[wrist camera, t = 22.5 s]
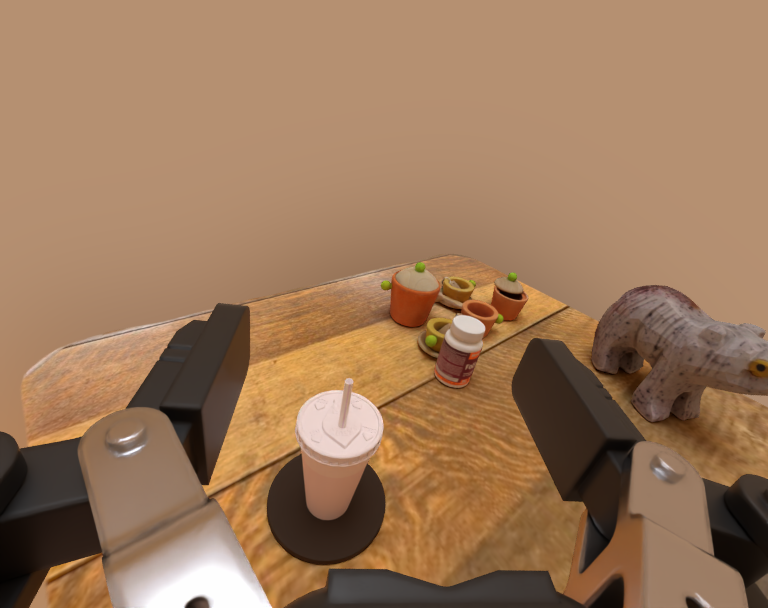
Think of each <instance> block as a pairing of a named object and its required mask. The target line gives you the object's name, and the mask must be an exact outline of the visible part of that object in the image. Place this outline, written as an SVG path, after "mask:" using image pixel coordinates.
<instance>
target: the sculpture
mask: <svg viewBox="0 0 768 608" xmlns="http://www.w3.org/2000/svg"><path fill="white" fill-rule="evenodd" d="M764 335H765V330H764V329H762V328H760V327H758V326H755V325H752V324H746V323H744V324H740V325H735V324H730V323H725V322H718V321H715V320H713V319H712V318H710V317H709V316H708V315H707V314H706V313H705V312H704V311H703V310H701V309H700V308H699V307H698V306H697V305H696V304H695V303H694V302H693V301H692V300H691V299H689V298H688V297H687V296H685V295H684V294H683V293H681V292H679V291H677V290H675V289H673V288H670V287H668V286H659V285H658V286H657V285H651V286H642V287H637V288H634V289H632V290H629V291H628V292H626V293H625V294H624V295H623V296H622V297H621V298H620V299H619V300H618V301H616V302H615V303H614V304H612V305H611V306H610V307H609V308H608V309H607V311H606V312H605V314H604V315H603V316H602V318H601V320H600V322H599V324H598V326H597V329H596V332H595V337H594V343H593V349H592V362H593V364H594V366H595V367H596V368H597V369H598V370H600V371H603V372H607V373H612V374H616V373H617V371H618V369H619V367H621V368H622V369H623V370H624V371H625V372H627V373H633V372H635V371H637V370H640V369H641V368H642V366H643V361H644V359H645V360H646V361H647V362H648V363H649V364H650V365H651V367H652V370H651V372H650V373H649V374H648V375H647V377H646V378H645V379H644V380H643V381H642V382H641V383H640V385H639V386H638V387H637V389H636V390H635V391H634V393H633V396H632V400H631V401H632V403H633V405H634V406H635V408H636V409H637V410H638V411H639V412H640V414H641V415H642V416H643V417H645V418H646V419H647V420H648V421H650V422H654V421H661V420H664V419H666V418H668V417H669V414H670V412H672V413H673V414H674V415H675V416H677V417H678V418H679V419H681V420H683V421H684V420H686V419H691V418H697V417H699V414H700V399H701V395H702V393H703V391H704V389H705V388H706V386H707V387H711V388H715V389H720V390H725V391H729V392H734V393H739V394H748V395H766V396H768V341H766V340H764V339H762V338H763V336H764Z"/></svg>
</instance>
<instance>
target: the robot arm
mask: <svg viewBox="0 0 768 608" xmlns="http://www.w3.org/2000/svg"><path fill="white" fill-rule="evenodd" d="M249 359H250V310H249V307H248V306H241V305H232V304H223V303H222V304H221V303H218V304H217V305H216V307H215V309H214V310H213V312H212V314H211V316H210V317H209V319H208V321H200V320H193V321H191V322H190V323H188V324H187V325H185V326H184V327H182V328H181V329H180V330H178V331H177V332H176V333H175V335H174V336H173V338H172V339H171V341H170V342H169V344H168V347H167V348H166V349H165V350H164V352H163V353H162V355H161V356H160V359H159V361H157V362H156V364H155V365H154V367H153V368H152V370H151V371H150V373H149V374H148V376H147V377H146V379H145V380H144V382H143V383H142V385H141V386H140V388H139V389H138V391H137V392H136V394H135V395H134V397H133V398H132V400H131V401H130V403H129V404H128V406H127V407H126V409H124V410H120V411H117V412H114V413H112V414H110V415H108V416H106V417H104V418H102V419H100V420H99V421H97V422H96V423H95V424H94V425H92V426H91V427H90V428H89V429H88V430H87V431H86V432H85V434H84V435H83V436H82V437H79V438H75V439H70V440H65V441H60V442H54V443H49V444H43V445H38V446H32V447H27V448H21V449H19V447H18V444H17V443H16V441H15V439H14V438H13V437H12V436H10V435H9V434H7V433H4V432H0V608H29V607H30V605H31V603H32V601H33V599H34V597H35V595H36V594H37V592H38V590H39V588H40V586H41V584H42V582H43V581H44V579H45V577H46V575H47V573H48V571H49V570H50V568H51V567H54V566H57V565H61V564H64V563H67V562H71V561H74V560H78V559H81V558H85V557H88V556H92V555H95V554H99V553H103V557H102V563H103V569H104V573H105V577H106V582H107V586H108V590H109V594H110V598H111V602H112V606H113V608H272V607H271V605H270V603H269V601H268V599H267V597H266V595H265V593H264V591H263V589H262V587H261V585H260V583H259V581H258V579H257V577H256V575H255V573H254V571H253V569H252V567H251V565H250V563H249V561H248V559H247V557H246V555H245V553H244V552H243V550H242V548H241V546H240V544H239V542H238V540H237V538H236V536H235V534H234V532H233V530H232V528H231V526H230V524H229V522H228V520H227V518H226V516H225V514H224V512H223V510H222V508H221V507H220V505H219V503H218V502H217V501H216V500H215V499H214V498H212V499H209V498H208V497H207V495H206V493H205V491H204V489H203V487H202V485H209V482H210V479H211V476H212V474H213V471H214V468H215V465H216V462H217V459H218V456H219V453H220V450H221V447H222V444H223V442H224V439H225V436H226V433H227V430H228V427H229V424H230V421H231V418H232V415H233V413H234V410H235V407H236V404H237V401H238V398H239V395H240V392H241V389H242V386H243V384H244V381H245V378H246V375H247V371H248V366H249ZM512 394H513V398H514V400H515V402H516V404H517V406H518V408H519V410H520V412H521V415H522V417H523V419H524V421H525V423H526V425H527V427H528V429H529V431H530V433H531V435H532V437H533V439H534V442H535V444H536V446H537V448H538V450H539V452H540V454H541V456H542V458H543V460H544V462H545V464H546V466H547V468H548V471H549V473H550V475H551V477H552V479H553V481H554V483H555V485H556V487H557V489H558V491H559V493H560V495H561V498H562V500H563V501H578V502H584V504H585V506H586V509H585V511H584V512H583V513H582V515H581V518H580V523H579V528H578V533H577V538H576V544H575V549H574V554H573V559H572V564H571V570H570V575H569V579H568V583H567V586H566V588H565V591H564V593H563V594H561V593H559V592H556V590H555V588H554V585H553V582H552V580H551V577H550V575H549V572H548V571H503V570H498V571H495V572H492V573H489V574H486V575H483V576H480V577H477V578H474V579H471V580H468V581H465V582H462V583H459V584H456V585H454V586H450V587H443V586H439V585H436V584H433V583H429V582H426V581H423V580H419V579H416V578H413V577H410V576H406V575H403V574H400V573H397V572H393V571H390V570H387V569H329V572H328V577H327V581H326V586H325V587H324V588H321V589H318V590H315V591H312V592H310V593H308V594H306V595H304V596H302V597H299V598H298V599H296V600H294V601H293V602H291V603H290V604H288V605H287V606H285V607H284V608H768V599H767V598H766V597H765V595H764V594H763V592H762V591H761V590H760V588H759V587H758V586H757V584H756V583H755V582H757V581H758V580H759V579H761V578H762V577H764V576H765V575H766V574H768V479H766V478H763V477H760V476H757V475H752V474H746V475H743V476H741V477H740V478H739V479H738V480H737V481H736V482H735V483H734V484H733V485H732V486H731V487H728V486H725V485H722V484H719V483H716V482H713V481H710V480H707V479H704V478H701V476H700V475H699V473H698V472H697V470H696V469H695V468H694V467H693V466H692V465H691V464H690V463H689V462H688V461H687V460H686V459H685V458H683V457H682V456H681V455H679V454H678V453H676V452H675V451H673V450H671V449H670V448H668V447H666V446H663V445H661V444H658V443H655V442H651V441H646V440H645V439H644V437H643V436H642V435H641V433H640V432H639V431H638V430H637V428H636V427H635V426H634V424H633V423H632V422H631V421H630V419H629V418H628V417H627V415H626V414H625V413H624V412H623V410H622V409H621V408H620V407H619V405H618V404H617V403H616V401H615V400H612V396H611V395H610V394H609V392H608V391H607V390H606V389H605V388H603V385H602V383H601V382H600V381H599V380H598V378H597V377H596V376H595V374H594V373H593V372H592V371H591V370H589V369H588V368H587V367H586V366H584V365H583V364H582V363H581V362H579V361H578V360H577V359H576V358H575V357H574V356H573V354H572V353H571V352H570V350H569V349H568V348H567V346H566V345H565V344H564V343H563V342H562V341H559V340H550V339H540V338H534V339H532V340H531V341H530V343H529V344H528V347H527V349H526V351H525V353H524V355H523V357H522V359H521V362H520V364H519V366H518V368H517V370H516V372H515V375H514V377H513V380H512Z"/></svg>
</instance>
